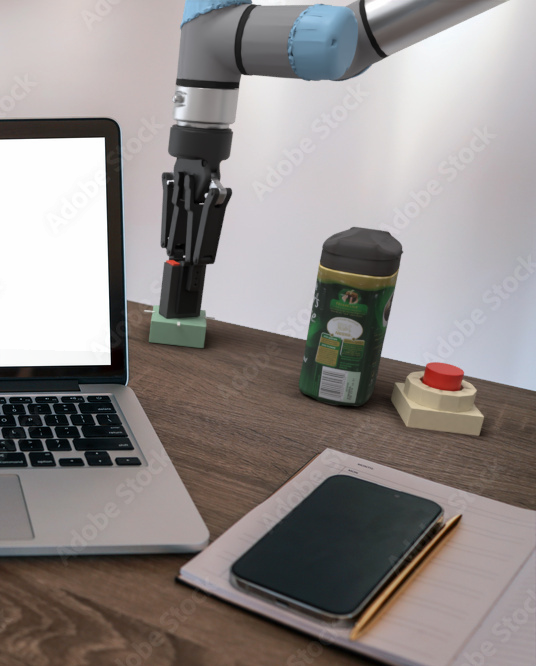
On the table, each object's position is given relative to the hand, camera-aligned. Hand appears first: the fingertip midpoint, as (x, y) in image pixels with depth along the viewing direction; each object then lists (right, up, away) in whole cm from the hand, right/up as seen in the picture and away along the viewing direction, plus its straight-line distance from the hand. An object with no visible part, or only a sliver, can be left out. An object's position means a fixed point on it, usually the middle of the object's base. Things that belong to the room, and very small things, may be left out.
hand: (179, 308), depth 102 cm
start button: (+24, -9, -20) cm, 32 cm away
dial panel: (0, -4, +1) cm, 4 cm away
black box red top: (0, -1, 0) cm, 1 cm away
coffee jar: (+15, -10, -14) cm, 23 cm away
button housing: (+24, -12, -19) cm, 33 cm away
